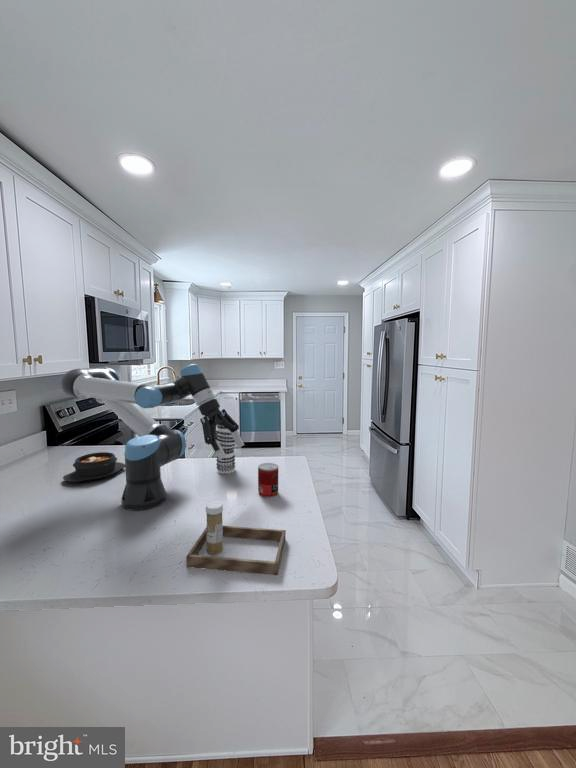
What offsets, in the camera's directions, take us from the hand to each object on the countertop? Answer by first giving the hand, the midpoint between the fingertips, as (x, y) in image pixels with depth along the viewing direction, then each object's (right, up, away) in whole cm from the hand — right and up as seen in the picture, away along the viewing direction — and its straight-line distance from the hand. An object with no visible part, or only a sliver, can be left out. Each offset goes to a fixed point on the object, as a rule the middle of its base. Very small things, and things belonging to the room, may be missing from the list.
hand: (232, 452), depth 124 cm
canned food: (+13, -17, +5) cm, 22 cm away
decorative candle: (-8, -15, +29) cm, 34 cm away
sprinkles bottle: (+1, -21, -33) cm, 39 cm away
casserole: (-64, -15, +22) cm, 70 cm away
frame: (+8, -21, -34) cm, 40 cm away
